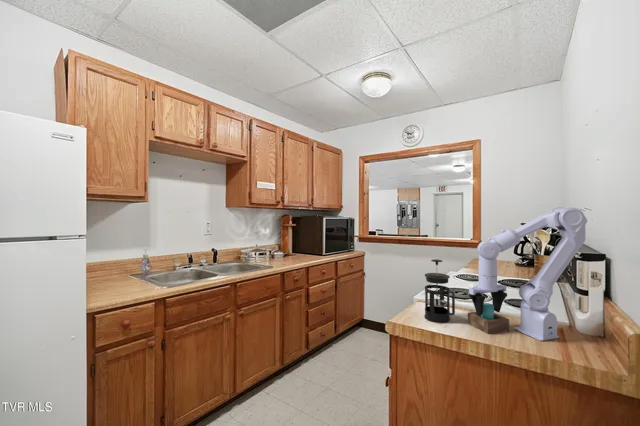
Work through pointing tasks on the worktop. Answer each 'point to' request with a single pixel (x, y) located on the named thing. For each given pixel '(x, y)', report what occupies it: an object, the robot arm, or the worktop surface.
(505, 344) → the worktop surface
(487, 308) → the peg
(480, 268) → the robot arm
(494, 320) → the socket block
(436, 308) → the french press
